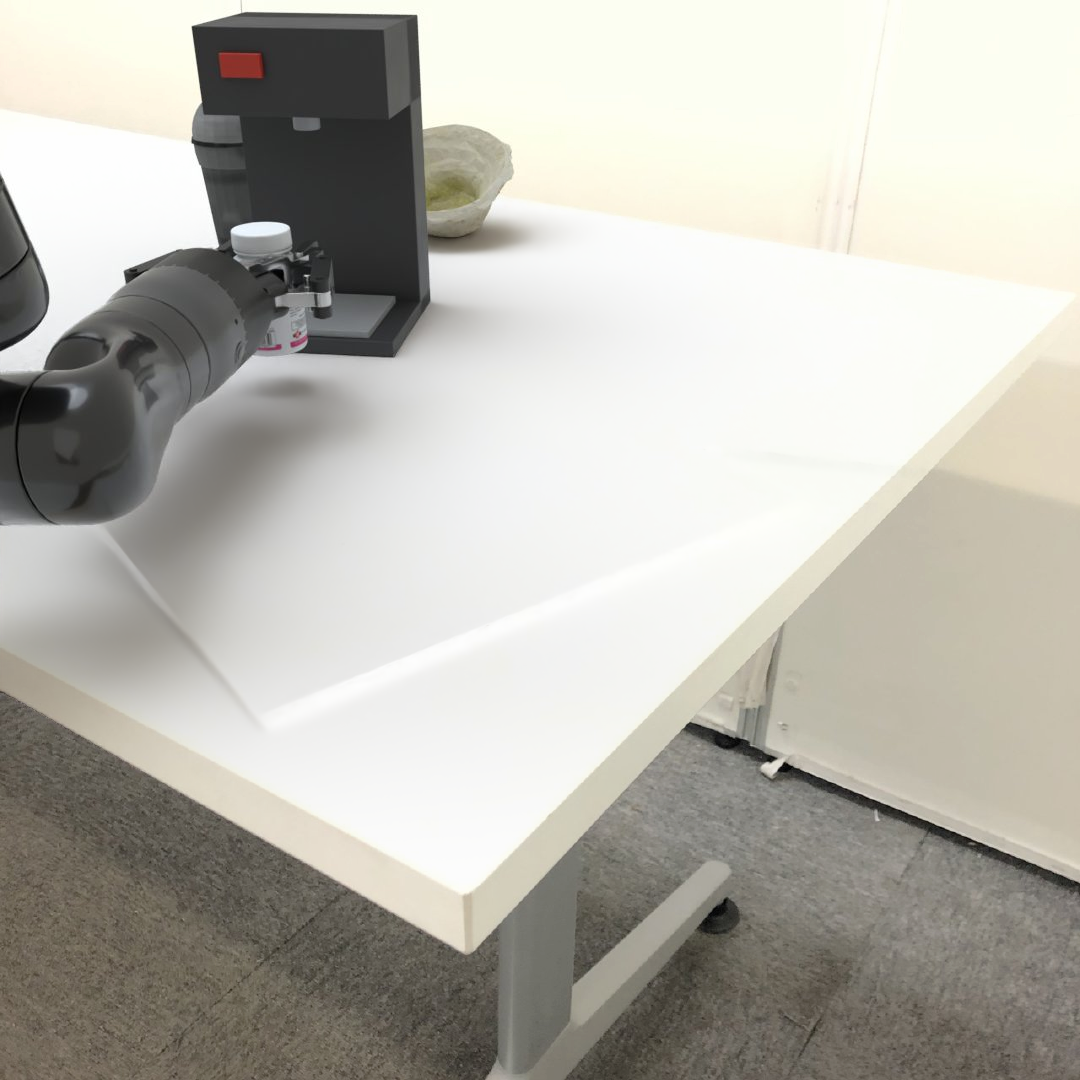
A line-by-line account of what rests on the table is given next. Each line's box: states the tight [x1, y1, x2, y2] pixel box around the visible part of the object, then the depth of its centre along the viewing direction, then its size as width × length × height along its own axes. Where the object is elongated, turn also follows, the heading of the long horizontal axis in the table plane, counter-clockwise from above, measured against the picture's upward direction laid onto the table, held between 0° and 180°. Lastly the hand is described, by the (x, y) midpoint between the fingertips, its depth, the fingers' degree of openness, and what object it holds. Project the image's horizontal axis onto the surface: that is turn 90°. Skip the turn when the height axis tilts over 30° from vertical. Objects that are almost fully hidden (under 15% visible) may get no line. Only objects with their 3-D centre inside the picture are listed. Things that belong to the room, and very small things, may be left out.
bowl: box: [423, 123, 515, 238], centre depth 116 cm, size 15×14×10 cm
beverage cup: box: [190, 102, 252, 247], centre depth 104 cm, size 7×7×20 cm
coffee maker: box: [191, 11, 431, 358], centre depth 88 cm, size 14×14×23 cm
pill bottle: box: [231, 222, 307, 358], centre depth 78 cm, size 5×5×8 cm
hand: (277, 253), depth 80 cm, fingers closed on pill bottle, 4 cm apart
